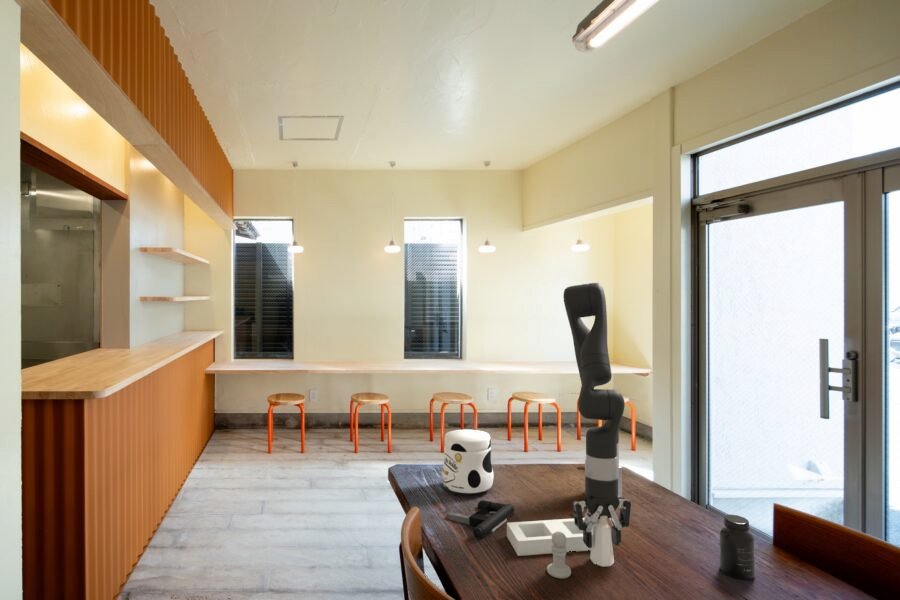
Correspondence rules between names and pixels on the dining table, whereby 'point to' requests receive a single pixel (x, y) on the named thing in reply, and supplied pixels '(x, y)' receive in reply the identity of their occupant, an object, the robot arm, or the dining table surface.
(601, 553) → the salt shaker
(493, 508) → the door handle
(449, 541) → the dining table surface
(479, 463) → the milk container
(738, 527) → the supplement bottle
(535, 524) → the rail
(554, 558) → the chess piece
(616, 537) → the robot arm
